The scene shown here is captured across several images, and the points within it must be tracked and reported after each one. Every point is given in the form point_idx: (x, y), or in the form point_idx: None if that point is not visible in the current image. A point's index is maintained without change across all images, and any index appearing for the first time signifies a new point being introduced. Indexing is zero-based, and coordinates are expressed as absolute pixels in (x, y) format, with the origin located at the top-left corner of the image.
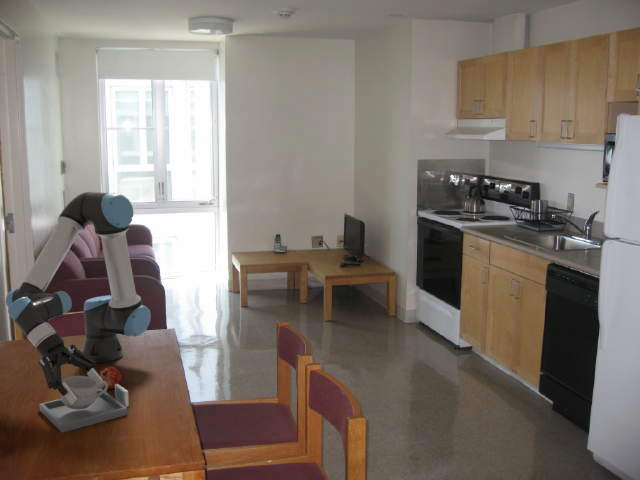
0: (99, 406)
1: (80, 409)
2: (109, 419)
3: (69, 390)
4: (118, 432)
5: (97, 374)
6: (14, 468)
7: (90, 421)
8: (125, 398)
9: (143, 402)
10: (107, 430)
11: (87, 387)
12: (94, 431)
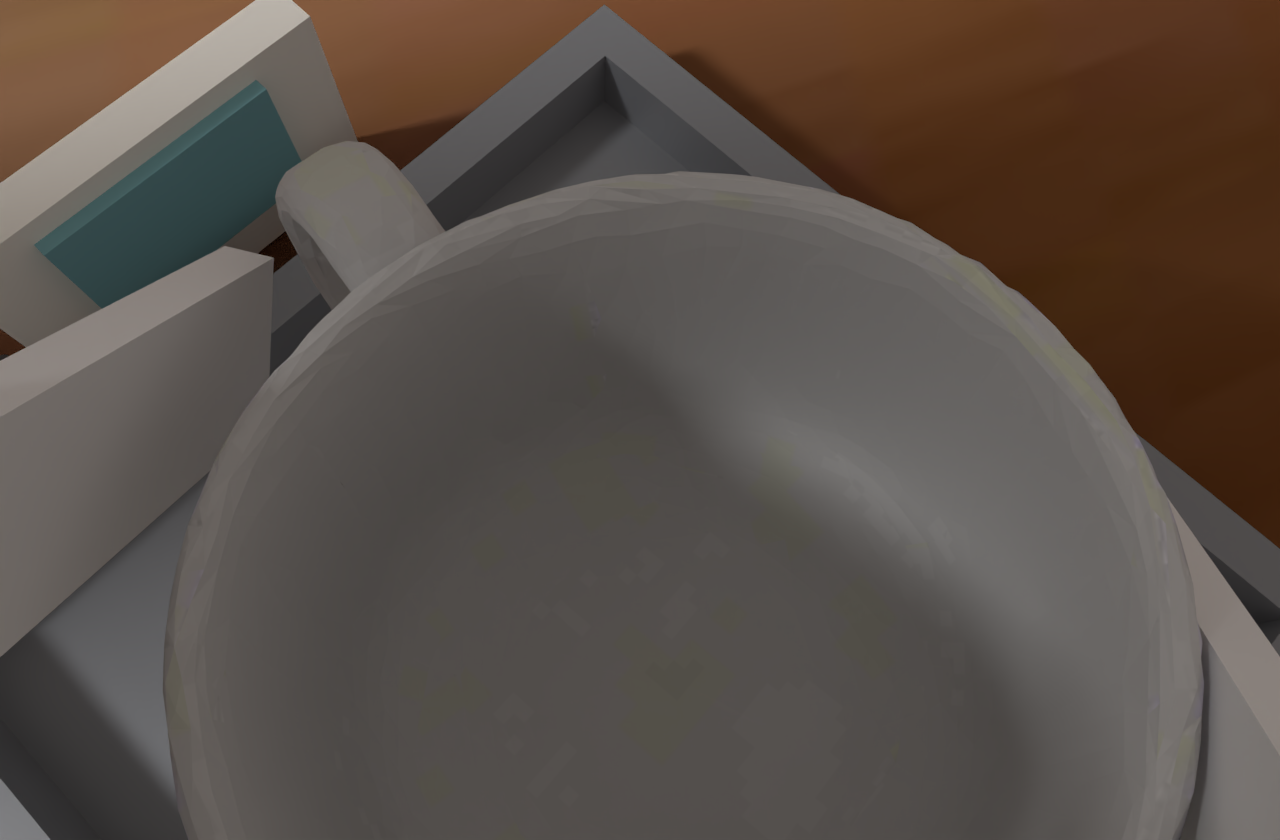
0: None
1: None
2: None
3: (1225, 605)
4: (1064, 10)
5: (68, 343)
6: None
7: None
8: (337, 89)
9: (212, 18)
10: (1052, 130)
11: (324, 614)
12: (1119, 254)
